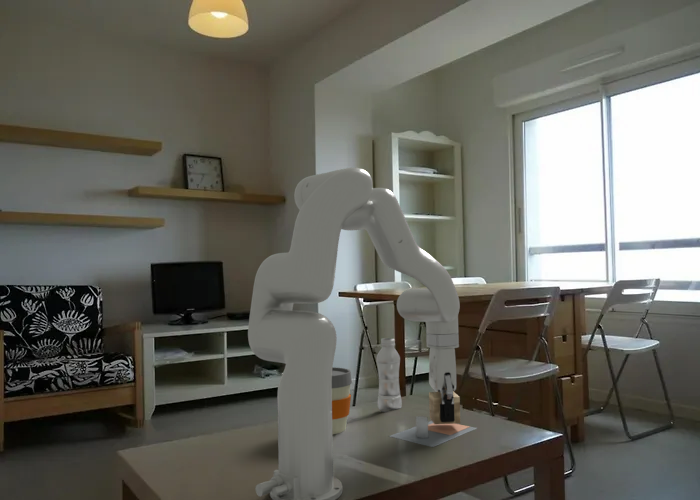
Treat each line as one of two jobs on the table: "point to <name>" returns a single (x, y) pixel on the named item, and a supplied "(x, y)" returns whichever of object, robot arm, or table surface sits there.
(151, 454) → the table surface
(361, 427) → the table surface
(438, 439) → the post plate
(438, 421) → the wooden block
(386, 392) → the plastic bottle
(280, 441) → the robot arm
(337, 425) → the reusable coffee cup
